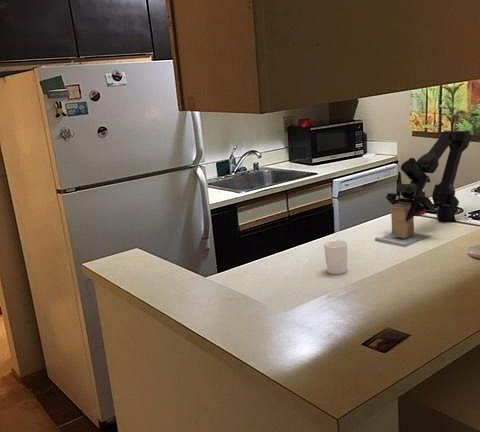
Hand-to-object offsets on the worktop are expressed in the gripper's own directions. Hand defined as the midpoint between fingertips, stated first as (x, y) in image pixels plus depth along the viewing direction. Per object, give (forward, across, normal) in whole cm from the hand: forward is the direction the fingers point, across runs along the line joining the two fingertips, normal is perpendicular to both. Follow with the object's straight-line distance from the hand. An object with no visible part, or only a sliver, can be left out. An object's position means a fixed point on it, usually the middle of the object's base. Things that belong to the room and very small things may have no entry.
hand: (400, 219), depth 216 cm
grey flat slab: (+5, 0, +6) cm, 8 cm away
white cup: (+34, +4, -23) cm, 41 cm away
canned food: (-18, -17, +30) cm, 39 cm away
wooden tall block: (+4, 0, +6) cm, 7 cm away
